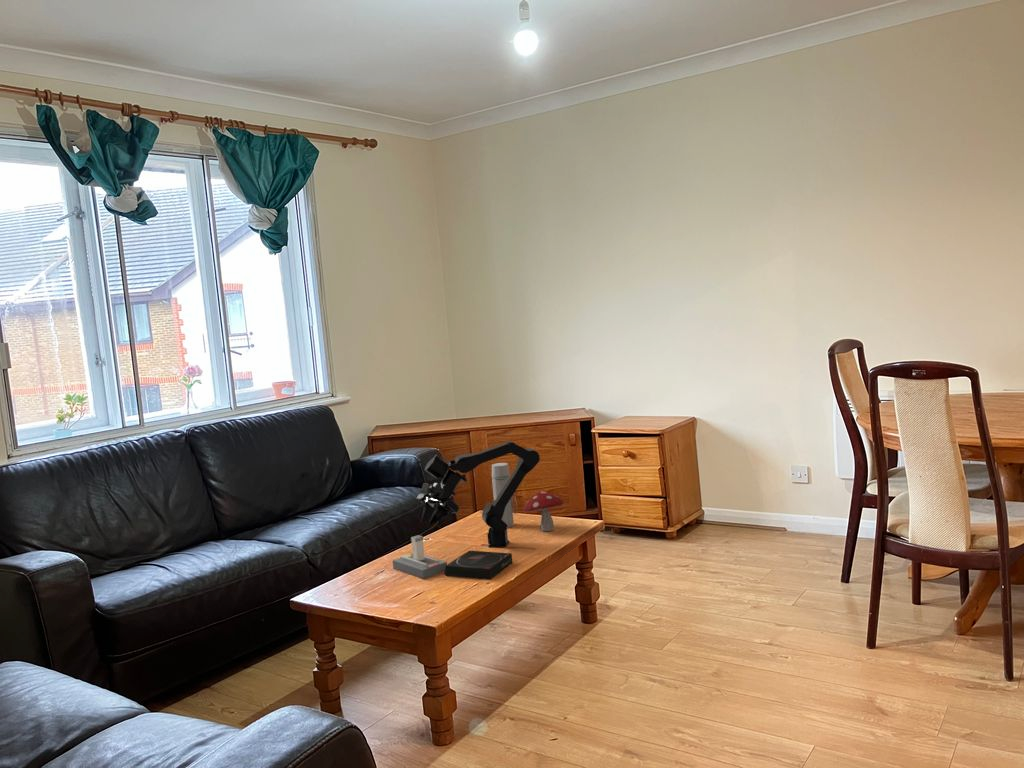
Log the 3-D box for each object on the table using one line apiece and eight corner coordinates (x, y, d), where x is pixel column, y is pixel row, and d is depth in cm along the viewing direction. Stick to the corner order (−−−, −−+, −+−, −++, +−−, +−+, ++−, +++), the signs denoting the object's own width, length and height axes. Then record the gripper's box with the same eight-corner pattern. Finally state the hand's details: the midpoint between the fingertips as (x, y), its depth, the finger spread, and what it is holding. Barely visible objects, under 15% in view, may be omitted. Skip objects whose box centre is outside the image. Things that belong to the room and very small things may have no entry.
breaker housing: (417, 560, 283) (416, 549, 283) (447, 570, 270) (446, 559, 269) (393, 568, 277) (392, 557, 276) (423, 579, 263) (422, 567, 263)
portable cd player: (468, 561, 279) (467, 550, 279) (512, 564, 272) (511, 553, 271) (444, 577, 265) (443, 565, 264) (490, 581, 257) (489, 569, 257)
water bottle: (494, 529, 316) (488, 467, 314) (497, 523, 324) (492, 462, 321) (517, 528, 314) (511, 465, 312) (520, 522, 322) (515, 461, 320)
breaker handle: (420, 557, 275) (418, 535, 274) (425, 559, 273) (422, 536, 272) (413, 560, 273) (410, 537, 272) (417, 561, 271) (415, 538, 270)
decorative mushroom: (520, 536, 303) (516, 497, 302) (531, 524, 318) (528, 487, 317) (560, 536, 298) (557, 497, 297) (570, 524, 313) (567, 487, 312)
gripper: (418, 471, 290) (395, 507, 284) (449, 476, 276) (426, 515, 269) (438, 487, 296) (416, 524, 289) (469, 493, 282) (447, 532, 275)
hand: (425, 523), depth 281 cm, fingers open, 4 cm apart
